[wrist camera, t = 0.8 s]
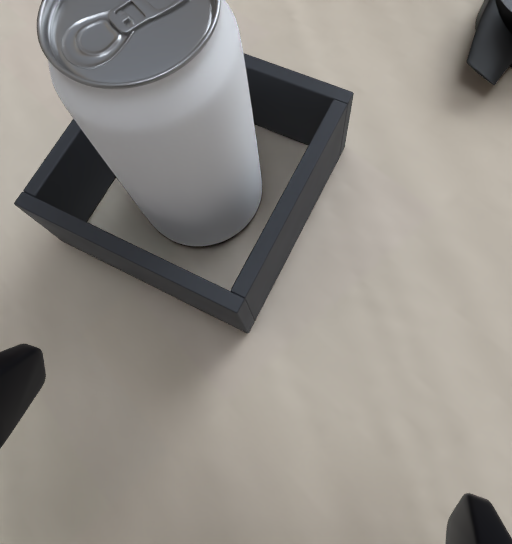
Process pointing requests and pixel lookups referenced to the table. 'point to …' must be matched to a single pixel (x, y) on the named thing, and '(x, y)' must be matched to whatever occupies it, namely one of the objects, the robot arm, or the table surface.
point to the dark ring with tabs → (492, 40)
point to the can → (162, 106)
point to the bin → (275, 236)
